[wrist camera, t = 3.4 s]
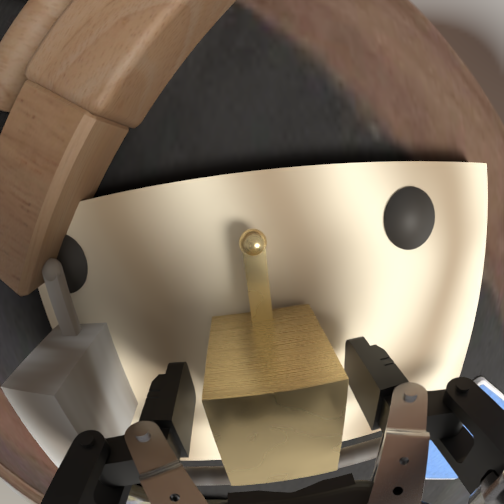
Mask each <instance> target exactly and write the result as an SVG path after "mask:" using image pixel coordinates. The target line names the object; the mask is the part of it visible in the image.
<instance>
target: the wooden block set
mask: <svg viewBox="0 0 504 504" xmlns="http://www.w3.org/2000/svg"><path fill="white" fill-rule="evenodd" d="M235 1H236V0H29V1H28V2H27V3H26V5H25V6H24V7H23V9H22V10H21V11H20V13H19V14H18V16H17V17H16V19H15V20H14V21H13V23H12V24H11V26H10V27H9V29H8V31H7V32H6V34H5V35H4V37H3V39H2V40H1V42H0V110H1V111H4V112H10V113H9V116H8V118H7V120H6V122H5V125H4V127H3V130H2V132H1V134H0V279H1V280H2V281H3V282H4V283H5V284H7V285H8V286H9V287H10V288H11V289H12V290H14V291H15V292H16V293H17V294H18V295H19V296H25V295H28V294H30V293H31V292H32V291H34V290H35V289H37V288H38V287H39V286H41V285H42V284H44V283H45V282H44V278H43V275H42V268H43V266H44V264H45V263H46V261H47V260H48V259H50V258H54V259H57V256H58V253H59V250H60V247H61V245H62V242H63V239H64V237H65V235H66V234H67V231H68V229H69V226H70V224H71V221H72V219H73V216H74V214H75V211H76V209H77V207H78V204H79V202H80V201H84V200H88V199H92V198H93V197H94V195H95V193H96V191H97V189H98V187H99V185H100V183H101V181H102V179H103V177H104V175H105V173H106V171H107V169H108V167H109V165H110V163H111V161H112V159H113V157H114V156H115V154H116V152H117V150H118V148H119V147H120V145H121V143H122V141H123V140H124V138H125V136H126V134H127V133H128V131H129V129H128V128H136V127H137V126H138V125H139V124H141V122H142V121H143V119H144V117H145V116H146V114H147V113H148V111H149V110H150V108H151V107H152V105H153V104H154V102H155V101H156V99H157V98H158V96H159V95H160V93H161V92H162V90H163V89H164V87H165V86H166V85H167V83H168V82H169V80H170V79H171V78H172V76H173V75H174V73H175V72H176V71H177V69H178V68H179V67H180V65H181V64H182V63H183V61H184V60H185V59H186V58H187V56H188V55H189V54H190V52H191V51H192V50H193V49H194V47H195V46H196V45H197V44H198V43H199V41H200V40H201V39H202V38H203V37H204V35H205V34H206V33H207V32H208V31H209V30H210V28H211V27H212V26H213V25H214V24H215V23H216V22H217V20H218V19H219V18H220V17H221V16H222V15H223V14H224V13H225V12H226V11H227V10H228V8H229V7H230V6H231V5H232V4H233V3H234V2H235Z"/></svg>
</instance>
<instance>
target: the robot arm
mask: <svg viewBox="0 0 504 504" xmlns="http://www.w3.org/2000/svg"><path fill="white" fill-rule="evenodd" d="M344 370H345V372H346V374H347V376H348V378H349V383H348V384H349V386H350V388H351V390H352V392H353V394H354V396H355V398H356V400H357V402H358V404H359V406H360V408H361V410H362V412H363V414H364V416H365V418H366V420H367V422H368V424H369V426H370V428H371V430H372V431H373V430H376V429H380V428H381V430H382V432H383V434H382V437H381V442H380V446H379V450H378V454H377V458H376V462H375V466H374V469H373V473H372V476H371V479H370V481H368V480H354V478H353V475H352V473H351V474H347V475H343V476H339V477H335V478H331V479H327V480H322V481H320V482H318V483H315V484H313V485H311V486H308V487H306V488H303V489H301V490H298V491H296V492H292V493H285V492H269V491H249V492H235V493H228V500H227V501H223V502H220V503H218V504H428V503H426V502H423V501H422V495H423V489H424V483H425V476H426V469H427V460H428V450H429V440H431V441H432V442H433V443H434V445H435V446H436V447H437V449H438V450H439V451H440V453H441V454H442V455H443V457H444V458H445V460H446V461H447V462H448V464H449V465H450V466H451V468H452V469H453V471H454V472H455V473H456V475H457V476H458V478H459V479H460V480H461V482H462V483H463V485H464V486H465V487H466V489H467V490H468V492H469V493H470V494H471V496H470V498H469V502H468V504H504V410H503V409H502V408H501V407H500V406H499V405H498V404H497V403H496V402H495V401H494V400H493V399H492V398H491V397H490V396H489V395H488V394H487V393H486V392H485V391H483V390H482V389H481V388H480V387H479V386H478V385H477V384H476V383H475V382H474V381H472V380H471V379H469V378H465V377H457V378H454V379H452V380H450V381H449V382H448V384H447V386H446V389H442V390H433V391H427V390H426V389H425V388H424V387H423V386H422V385H420V384H418V383H413V382H409V381H408V380H407V378H406V377H405V376H404V374H403V373H402V372H401V370H400V369H399V368H398V366H397V365H396V364H394V361H393V360H392V359H391V358H390V356H389V355H388V353H387V352H386V351H385V350H384V349H383V348H381V347H379V346H377V345H376V344H375V345H371V346H370V345H369V343H368V342H367V340H366V339H365V338H364V337H363V336H361V337H357V338H352V339H347V340H346V343H345V361H344ZM195 404H196V393H195V388H194V384H193V381H192V378H191V374H190V371H189V368H188V364H187V362H172V363H169V364H168V366H167V370H166V373H165V374H158V376H157V377H156V378H155V379H154V380H153V381H152V382H151V385H150V388H149V392H148V394H147V398H146V400H145V403H144V406H143V409H142V412H141V415H140V419H139V422H136V423H134V424H132V425H131V426H129V427H128V428H127V430H126V431H125V435H121V436H116V437H110V438H104V436H103V435H102V434H101V433H100V432H99V431H96V430H87V431H84V432H81V433H80V434H78V435H77V436H76V437H75V439H74V440H73V442H72V444H71V446H70V448H69V449H68V451H67V453H66V455H65V457H64V459H63V461H62V463H61V464H60V466H59V468H58V470H57V472H56V474H55V476H54V478H53V480H52V482H51V484H50V486H49V488H48V490H47V492H46V494H45V496H44V498H43V500H42V502H41V504H126V503H127V499H128V496H129V493H130V490H131V487H132V485H134V484H139V483H141V485H142V487H143V489H144V491H145V493H146V495H147V497H148V499H149V501H150V503H151V504H208V502H207V501H206V499H205V498H204V497H203V495H202V494H201V492H200V491H199V490H198V488H197V487H196V485H195V484H194V482H193V481H192V479H191V478H190V476H189V475H188V473H187V472H186V470H185V469H184V467H183V466H182V464H181V463H180V458H189V452H190V443H191V435H192V427H193V419H194V412H195ZM463 425H464V426H465V427H466V428H467V429H468V430H469V431H470V433H471V434H472V435H473V436H472V435H471V434H470V433H469V431H468V430H467V429H466V428H465V427H464V426H463Z"/></svg>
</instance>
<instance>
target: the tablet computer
mask: <svg viewBox="0 0 504 504" xmlns="http://www.w3.org/2000/svg"><path fill="white" fill-rule="evenodd" d="M474 382H475V383H476V384H477V385H478V386H479V387H480V388H481V389H482V390H483V391H485V392H486V393H487V394H488V395H489V396H490V397H491V398H492V399H493V400H494V401H495V402H496V403H497V404H498V405H499V406H500V407H501V408H502V409H503V410H504V395H503V394H502V393H501V392H500V391H499V390H498V389H496V388H495V387H494V386H493V385H492V384H491V383H490V382H488V381H487V380H486V379H485V378H484V377H478V378H476V379H475V380H474ZM463 426H464V425H463ZM464 427H465V426H464ZM465 428H466V427H465ZM466 429H467V428H466ZM467 430H468V429H467ZM468 431H469V430H468ZM469 433H470V431H469ZM470 434H471V433H470ZM471 435H472V434H471ZM472 436H473V435H472ZM456 478H458V476H457V475H456V473H455V472H454V471H453V469H452V468H451V466H450V465H449V464H448V462H447V461H446V460H445V458H444V457H443V455H442V454H441V453H440V451H439V450H438V449H437V447H436V446H435V445H434V443H433V442H432V441H431V440H429V450H428V460H427V469H426V476H425V479H456Z"/></svg>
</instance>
